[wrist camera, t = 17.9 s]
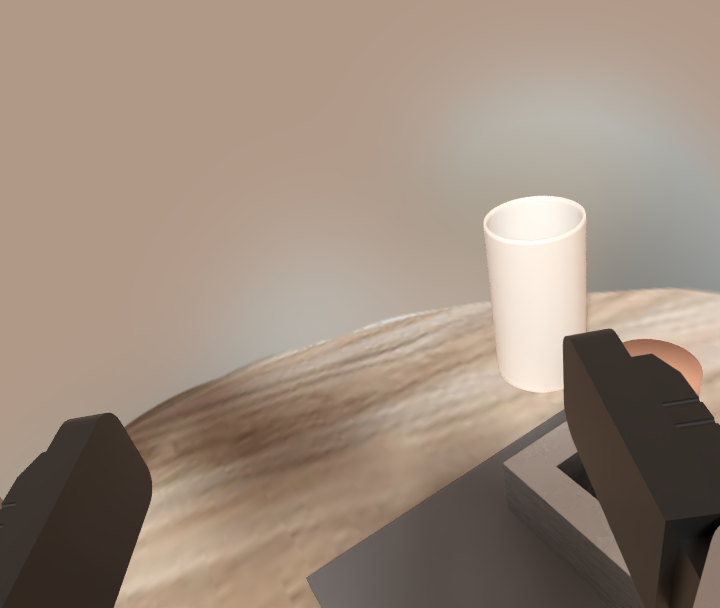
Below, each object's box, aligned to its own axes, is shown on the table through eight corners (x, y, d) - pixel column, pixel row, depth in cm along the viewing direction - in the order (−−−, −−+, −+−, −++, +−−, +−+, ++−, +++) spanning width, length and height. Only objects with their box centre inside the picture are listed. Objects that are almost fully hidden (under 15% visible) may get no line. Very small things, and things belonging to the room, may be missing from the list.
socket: (507, 508, 43) (502, 463, 41) (621, 429, 47) (623, 383, 45) (648, 644, 34) (654, 597, 31) (776, 531, 38) (790, 481, 35)
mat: (309, 585, 43) (306, 577, 42) (586, 403, 52) (586, 394, 51) (451, 843, 29) (448, 837, 29) (790, 538, 38) (793, 528, 38)
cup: (569, 402, 52) (566, 246, 44) (484, 380, 57) (466, 235, 48) (597, 347, 57) (599, 198, 49) (517, 331, 62) (506, 192, 53)
